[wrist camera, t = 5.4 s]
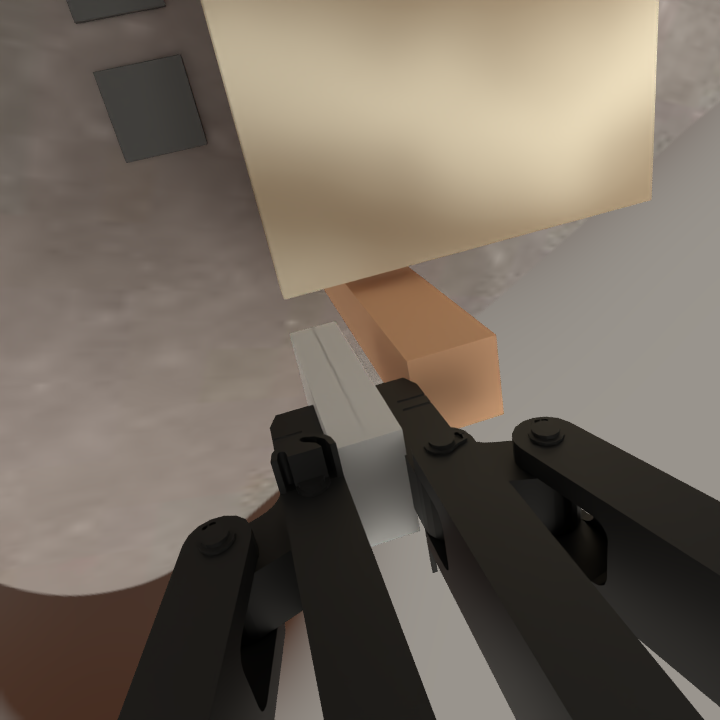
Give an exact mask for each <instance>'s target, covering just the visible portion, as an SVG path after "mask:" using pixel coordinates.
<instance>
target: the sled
mask: <svg viewBox="0 0 720 720" xmlns="http://www.w3.org/2000/svg"><path fill="white" fill-rule="evenodd" d="M324 290H325V292H326V293H327V295H328V296H329V298H330V300H331V301H332V303H333V304H334V306H335V307H336V309H337V310H338V312H339V314H340V315H341V317H342V318H343V320H344V321H345V323H346V324H347V326H348V328H349V329H350V331H351V332H352V334H353V335H354V337H355V338H356V340H357V342H358V343H359V345H360V346H361V348H362V349H363V351H364V352H365V354H366V356H367V357H368V359H369V360H370V362H371V363H372V365H373V366H374V368H375V370H376V371H377V373H378V374H379V376H380V377H381V379H382V380H383V382H384V383H386V382H389V381H392V380H396V379H399V378H405V379H407V380H410V381H412V382H414V383H416V384H417V385H418V386H419V387H420V388H421V390H422V391H423V392H424V394H425V395H426V396H427V397H428V399H429V400H430V402H431V403H432V404H433V405H434V406H435V408H436V409H437V410H438V412H439V413H440V414H441V415H442V417H443V418H444V419H445V420H446V422H447V423H448V424H449V426H450V427H455V428H461V427H465V426H468V425H471V424H474V423H477V422H480V421H484V420H487V419H490V418H493V417H496V416H499V415H502V414H504V411H503V401H502V391H501V380H500V370H499V360H498V349H497V339H496V334H494V333H493V332H492V331H490V330H489V329H488V328H486V327H485V326H484V325H483V324H481V323H480V322H479V321H477V320H476V319H475V318H474V317H472V316H471V315H470V314H468V313H467V312H466V311H465V310H463V309H462V308H461V307H459V306H458V305H457V304H456V303H454V302H453V301H452V300H450V299H449V298H448V297H447V296H445V295H444V294H443V293H441V292H440V291H439V290H438V289H436V288H435V287H434V286H432V285H431V284H430V283H429V282H427V281H426V280H425V279H423V278H422V277H421V276H420V275H418V274H417V273H416V272H414V271H413V270H412V269H411V268H409V267H408V266H407V267H403V268H400V269H396V270H392V271H388V272H385V273H381V274H377V275H374V276H370V277H366V278H363V279H359V280H355V281H352V282H348V283H344V284H341V285H337V286H333V287H330V288H326V289H324Z"/></svg>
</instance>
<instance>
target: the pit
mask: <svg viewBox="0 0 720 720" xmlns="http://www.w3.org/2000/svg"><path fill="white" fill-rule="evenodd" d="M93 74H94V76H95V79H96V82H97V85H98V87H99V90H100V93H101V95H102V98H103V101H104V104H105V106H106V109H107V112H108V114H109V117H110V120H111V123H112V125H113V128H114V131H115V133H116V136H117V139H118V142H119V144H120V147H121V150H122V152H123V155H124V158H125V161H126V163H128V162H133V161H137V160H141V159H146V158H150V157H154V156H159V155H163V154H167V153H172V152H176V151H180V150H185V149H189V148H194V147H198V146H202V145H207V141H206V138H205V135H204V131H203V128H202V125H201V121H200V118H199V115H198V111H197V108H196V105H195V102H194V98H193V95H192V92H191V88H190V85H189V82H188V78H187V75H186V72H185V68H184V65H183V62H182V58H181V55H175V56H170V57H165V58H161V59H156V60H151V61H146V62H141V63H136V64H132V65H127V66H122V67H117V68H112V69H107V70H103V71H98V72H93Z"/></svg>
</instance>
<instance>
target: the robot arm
mask: <svg viewBox="0 0 720 720" xmlns="http://www.w3.org/2000/svg"><path fill="white" fill-rule="evenodd" d="M289 334H290V338H291V342H292V346H293V349H294V353H295V357H296V361H297V365H298V369H299V372H300V376H301V380H302V384H303V388H304V392H305V395H306V399H307V403H308V406H307V407H303V408H300V409H296V410H293V411H289V412H286V413H283V414H279V415H276V416H275V418H274V420H273V422H272V425H271V427H270V431H271V436H272V440H273V446H274V450H275V451H274V452H273V453H272V455H271V465H272V469H273V472H274V475H275V478H276V481H277V485H278V488H279V491H280V497H279V499H278V500H277V502H276V503H275V505H274V506H273V507H272V508H271V509H269V510H268V511H267V512H266V513H264V514H263V515H261V516H260V517H259V518H257V519H255V520H253V521H252V522H250V523H248V522H247V520H246V519H244V518H241V517H238V516H222V517H218V518H215V519H211V520H209V521H207V522H206V523H204V524H202V525H200V526H199V527H197V528H196V529H195V530H194V531H193V532H192V533H191V534H190V535H189V536H188V537H187V539H186V541H185V542H184V544H183V546H182V548H181V551H180V554H179V556H178V559H177V562H176V564H175V567H174V570H173V573H172V575H171V578H170V581H169V583H168V586H167V589H166V592H165V594H164V597H163V599H162V602H161V605H160V607H159V610H158V613H157V616H156V618H155V621H154V624H153V626H152V629H151V632H150V634H149V637H148V640H147V642H146V645H145V648H144V650H143V653H142V656H141V659H140V661H139V664H138V667H137V669H136V672H135V675H134V677H133V680H132V683H131V685H130V689H129V691H128V694H127V696H126V699H125V701H124V705H123V707H122V710H121V712H120V715H119V718H118V720H274V717H275V710H276V702H277V701H276V700H277V694H278V686H279V678H280V669H281V662H282V654H283V646H284V638H285V622H286V621H288V620H289V619H291V618H292V617H294V616H295V615H297V614H298V613H300V612H301V611H302V610H303V613H304V618H305V623H306V628H307V634H308V639H309V644H310V650H311V655H312V660H313V665H314V670H315V676H316V681H317V686H318V691H319V696H320V701H321V707H322V712H323V717H324V720H436V718H435V715H434V712H433V710H432V707H431V705H430V702H429V699H428V697H427V694H426V691H425V689H424V686H423V683H422V681H421V678H420V675H419V673H418V670H417V668H416V665H415V662H414V660H413V657H412V654H411V652H410V649H409V646H408V644H407V641H406V639H405V636H404V633H403V630H402V628H401V625H400V623H399V620H398V617H397V615H396V612H395V609H394V607H393V604H392V601H391V599H390V596H389V594H388V591H387V588H386V586H385V583H384V580H383V578H382V575H381V572H380V570H379V567H378V565H377V562H376V559H375V556H374V554H373V551H372V549H371V547H373V546H376V545H379V544H382V543H385V542H388V541H391V540H394V539H397V538H400V537H403V536H406V535H409V534H412V533H415V532H418V531H420V527H419V522H418V516H419V518H420V520H421V522H422V524H423V526H424V528H425V532H426V537H427V544H428V550H429V556H430V561H431V567H432V571H433V573H435V572H437V571H438V570H437V565H438V567H439V569H440V571H441V573H442V575H443V577H444V579H445V581H446V583H447V585H448V587H449V589H450V591H451V593H452V594H453V597H454V598H455V600H456V602H457V604H458V606H459V608H460V610H461V612H462V614H463V616H464V618H465V620H466V622H467V624H468V626H469V628H470V630H471V632H472V634H473V636H474V638H475V640H476V642H477V644H478V646H479V648H480V650H481V651H482V653H483V655H484V657H485V659H486V661H487V663H488V665H489V667H490V669H491V671H492V673H493V675H494V677H495V679H496V681H497V683H498V685H499V687H500V689H501V691H502V693H503V695H504V697H505V698H506V701H507V703H508V705H509V706H510V708H511V710H512V712H513V714H514V716H515V718H516V720H704V719H703V718H702V717H701V715H700V714H699V713H698V712H697V711H696V709H695V708H694V707H693V705H692V704H691V703H690V702H689V701H688V699H687V698H686V697H685V696H684V695H683V693H682V692H681V691H680V690H679V688H678V687H677V686H676V685H675V684H674V682H673V681H672V680H671V679H670V677H669V676H668V675H667V674H666V673H665V671H664V670H663V669H662V668H661V666H660V665H659V664H658V663H657V662H656V660H655V659H654V658H653V657H652V656H651V654H650V653H649V652H648V651H647V649H646V648H645V647H644V646H643V645H642V644H641V642H640V641H642V642H643V643H644V644H645V645H646V646H648V647H649V648H650V649H651V650H652V651H654V652H655V653H656V654H657V655H658V656H659V657H661V658H662V659H663V660H664V661H665V662H667V663H668V664H669V665H670V666H671V667H673V668H674V669H675V670H676V671H677V672H679V673H680V674H681V675H682V676H683V677H685V678H686V679H687V680H688V681H689V682H691V683H692V684H693V685H694V686H695V687H697V688H698V689H699V690H700V691H701V692H703V693H704V694H705V695H706V696H708V697H709V698H710V699H711V700H712V701H713V702H715V703H716V704H717V705H718V706H719V707H720V502H719V501H718V500H716V499H714V498H712V497H710V496H708V495H706V494H705V493H703V492H701V491H699V490H697V489H695V488H693V487H691V486H689V485H688V484H686V483H684V482H682V481H680V480H678V479H676V478H674V477H672V476H671V475H669V474H667V473H665V472H663V471H661V470H659V469H657V468H655V467H654V466H651V465H650V464H648V463H646V462H644V461H642V460H640V459H638V458H636V457H635V456H633V455H631V454H629V453H627V452H625V451H623V450H621V449H619V448H618V447H616V446H614V445H612V444H610V443H608V442H606V441H604V440H602V439H600V438H599V437H596V436H595V435H593V434H591V433H589V432H587V431H585V430H584V429H582V428H580V427H578V426H576V425H574V424H572V423H570V422H568V421H565V420H562V419H559V418H553V417H538V418H532V419H529V420H526V421H523V422H522V423H520V424H519V425H518V426H516V427H515V429H514V431H513V433H512V441H503V442H492V443H491V442H490V443H489V442H488V443H482V442H476V441H475V440H474V438H473V437H472V436H471V435H470V434H468V433H467V432H466V431H464V430H461V429H458V428H455V427H450V426H449V424H448V423H447V422H446V420H445V419H444V418H443V417H442V415H441V414H440V413H439V412H438V410H437V409H436V408H435V406H434V405H433V404H432V403H431V402H430V400H429V399H428V397H427V396H426V395H425V394H424V392H423V391H422V390H421V388H420V387H419V386H418V385H417V384H416V383H414V382H412V381H410V380H407V379H405V378H399V379H396V380H392V381H389V382H386V383H382V384H379V385H374V383H373V381H372V380H371V378H370V376H369V375H368V373H367V372H366V370H365V368H364V367H363V365H362V364H361V362H360V360H359V359H358V357H357V355H356V354H355V352H354V351H353V349H352V347H351V346H350V344H349V343H348V341H347V339H346V338H345V336H344V334H343V333H342V331H341V330H340V328H339V326H338V325H337V323H336V322H335V321H334V322H330V323H326V324H323V325H319V326H315V327H311V328H308V329H304V330H300V331H296V332H293V333H289ZM581 508H582V509H583V510H582V509H581ZM584 510H585V511H586V512H587V513H586V512H585V511H584ZM588 513H589V514H588ZM417 514H418V516H417ZM436 563H437V564H436ZM638 639H639V640H640V641H639V640H638Z"/></svg>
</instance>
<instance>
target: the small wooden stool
mask: <svg viewBox="0 0 720 720" xmlns="http://www.w3.org/2000/svg"><path fill="white" fill-rule="evenodd" d="M200 1H201V4H202V8H203V12H204V15H205V19H206V22H207V26H208V30H209V33H210V37H211V40H212V44H213V48H214V51H215V55H216V58H217V62H218V66H219V69H220V73H221V77H222V80H223V84H224V87H225V91H226V95H227V98H228V102H229V105H230V109H231V113H232V116H233V120H234V123H235V127H236V131H237V134H238V138H239V142H240V145H241V149H242V152H243V156H244V160H245V163H246V167H247V170H248V174H249V178H250V181H251V185H252V189H253V192H254V196H255V199H256V203H257V207H258V210H259V214H260V217H261V221H262V225H263V228H264V232H265V235H266V239H267V243H268V246H269V250H270V254H271V257H272V261H273V264H274V268H275V272H276V275H277V279H278V282H279V286H280V290H281V292H282V295H283V297H284V300H286V299H289V298H293V297H297V296H300V295H304V294H308V293H311V292H315V291H319V290H322V289H326V288H330V287H333V286H337V285H341V284H344V283H348V282H352V281H355V280H359V279H363V278H366V277H370V276H374V275H377V274H381V273H385V272H388V271H392V270H396V269H400V268H403V267H407V266H411V265H414V264H418V263H422V262H425V261H429V260H433V259H436V258H440V257H444V256H447V255H451V254H455V253H458V252H462V251H466V250H469V249H473V248H477V247H480V246H484V245H488V244H491V243H495V242H499V241H502V240H506V239H510V238H513V237H517V236H521V235H524V234H528V233H532V232H536V231H539V230H543V229H547V228H550V227H554V226H558V225H561V224H565V223H569V222H572V221H576V220H580V219H583V218H587V217H591V216H594V215H598V214H601V213H605V212H609V211H612V210H616V209H620V208H624V207H627V206H631V205H634V204H638V203H642V202H646V201H649V200H651V196H652V168H653V167H652V166H653V142H654V115H655V88H656V61H657V34H658V7H659V0H200Z"/></svg>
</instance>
